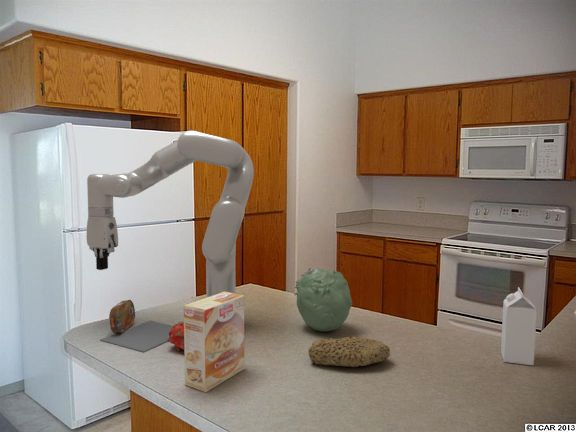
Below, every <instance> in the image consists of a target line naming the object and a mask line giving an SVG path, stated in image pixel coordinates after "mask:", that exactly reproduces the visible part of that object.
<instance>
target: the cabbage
mask: <svg viewBox="0 0 576 432" xmlns="http://www.w3.org/2000/svg"><path fill="white" fill-rule="evenodd" d="M300 276H301V278H299V279H298V280H296V281H295V283H296V284H295V287H294V289H296V291H297V292H295V293H293V295H295V296H296V306H297V307H296V308H297V309H298V313H299V314H300V316H301V318H302V320H303V321H304V323H306V325H308V326H309V327H310V329H311V328H312V329H313V330H315V331H318V332H332V331H336V330H337V329H338V328H339V327H341V326H342V325H343V324H344V323H345V321H346V320H347V319H348V317H349V314H350V310H351V308H352V306H353V300H352V297H351V296H352V295H351V290H350V287H349V283H348V281H347V279H346V278H344V275H343V273H341V272H340V271H335V270H330V269H328V270H326V269H322V268H318V267H316V268H315V267H313V268H312V267H310V268H308V269H307V270H306V271H305V272H304V273H303V274H301V275H300Z"/></svg>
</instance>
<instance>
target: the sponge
mask: <svg viewBox="0 0 576 432" xmlns="http://www.w3.org/2000/svg"><path fill="white" fill-rule="evenodd" d="M390 353H391V348H390V346H388V345H386V344H385V343H383V342H382V341H380V340H377V339H372V338H365V337H359V336H346V337H340V338H335V339H334V338H332V337H329V338H325V339H317V340H313V341H312V342H311V346H309V348H308V356H309V359H310V361H311V363H313V364H315V365H323V366H336V367H352V368H358V367H364V366H369V365H373V364H376V363H377V364H378V363H382V362H383V361H385V360H387V359H388V358H389V357H390V356H391V354H390Z"/></svg>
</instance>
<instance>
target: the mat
mask: <svg viewBox="0 0 576 432" xmlns="http://www.w3.org/2000/svg"><path fill="white" fill-rule="evenodd" d="M173 325H174V324H169V323H164V322H159V321H156V320H155V321H154V320H151V319H149V320H148V321H144V322H143V323H140V324H138V325H135V326H131V327H129V328H128V329H127V330H126V331H125V332H124V333H113V334H110V335H108V336H105V337H103V338H101V339H99V341H100V342H103V343H104V342H105V343H108V344H112V345H114V346H119V347H122V348H126V349H129V350H133V351H137V352H141V353H145V352H148V351H150V350H152V349H154V348H157V347H158V346H161V345H163V344H166V343H169V342H168V341H167V339H168V338H169V337H170V336H169V332H170V330H171V328H172V327H173Z"/></svg>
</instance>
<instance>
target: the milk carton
mask: <svg viewBox="0 0 576 432" xmlns="http://www.w3.org/2000/svg"><path fill="white" fill-rule="evenodd" d="M502 302H503V304H502V305H503V306H502V322H501V323H502V325H501V326H502V327H501V343H500V345H501V347H500V355H501V357H502V361H503V362H504V363H510V364H517V365H524V366H525V365H526V366H534V365H535V352H536V350H535V349H536V333H537V331H536V330H537V316H538V315H537V313H538V310H537V308H536V306H535V305H534V304H533V302H532V301H531V300H530V299H529V298H527V297H526V296H525V294H524V293H523V292H522V290H521V289H520V287H519V286H518V287H517V291H515V292H514V293H509V294H507V296H506V297H505V298H504V300H503V301H502Z"/></svg>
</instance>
